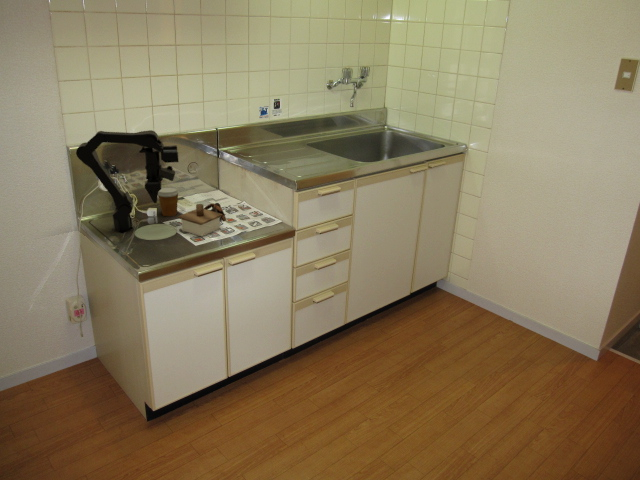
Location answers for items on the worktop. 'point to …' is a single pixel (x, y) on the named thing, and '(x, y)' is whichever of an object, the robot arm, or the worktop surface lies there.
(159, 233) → the sage mat
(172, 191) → the disposable coffee cup
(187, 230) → the cream open box
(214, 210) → the brown curved piece
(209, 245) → the worktop surface
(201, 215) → the walnut lid
